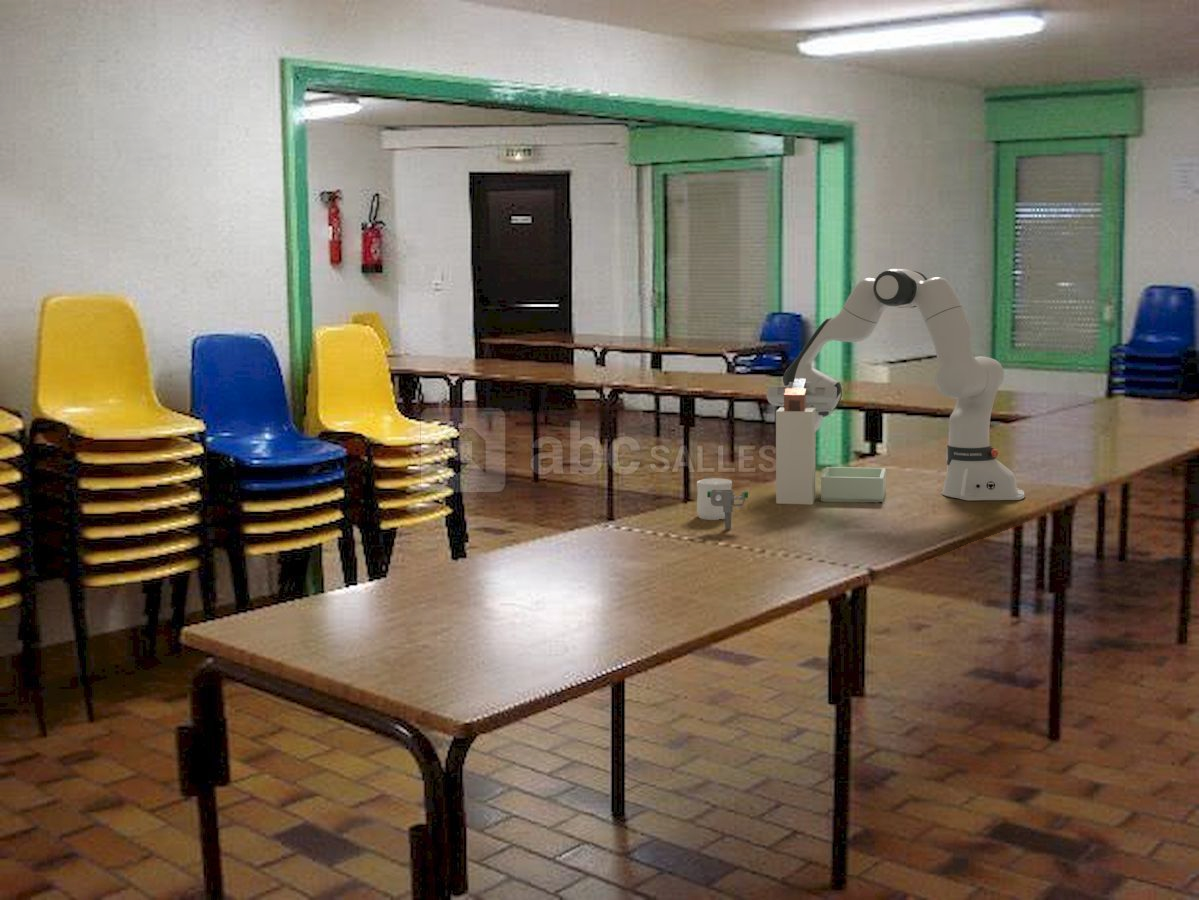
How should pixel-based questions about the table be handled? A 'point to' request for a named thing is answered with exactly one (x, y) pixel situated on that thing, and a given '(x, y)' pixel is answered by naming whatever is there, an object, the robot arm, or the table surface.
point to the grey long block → (795, 396)
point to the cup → (704, 502)
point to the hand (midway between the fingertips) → (799, 384)
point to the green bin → (853, 484)
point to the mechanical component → (726, 502)
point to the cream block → (795, 456)
